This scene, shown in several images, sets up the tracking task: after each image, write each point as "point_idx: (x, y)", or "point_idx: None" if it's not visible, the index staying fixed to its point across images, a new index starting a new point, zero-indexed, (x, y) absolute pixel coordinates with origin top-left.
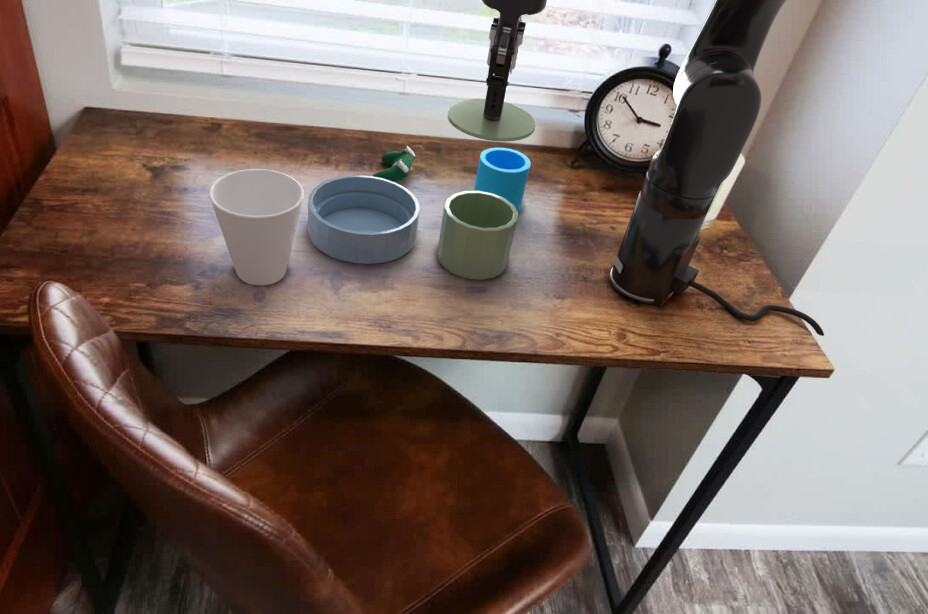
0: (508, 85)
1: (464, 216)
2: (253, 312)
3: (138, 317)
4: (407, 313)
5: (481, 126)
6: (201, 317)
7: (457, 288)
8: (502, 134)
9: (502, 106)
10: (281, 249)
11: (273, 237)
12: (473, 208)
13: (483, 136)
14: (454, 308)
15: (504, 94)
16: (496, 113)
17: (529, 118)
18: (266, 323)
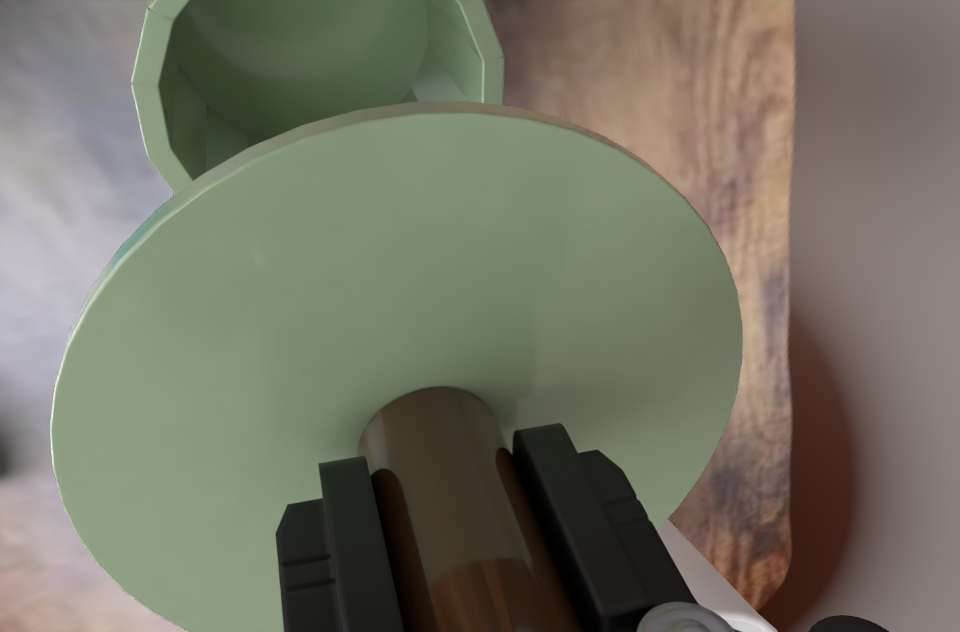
0: (702, 624)
1: (204, 142)
2: (719, 453)
3: (757, 581)
4: (669, 157)
5: (607, 453)
6: (746, 513)
7: (511, 39)
8: (691, 317)
9: (582, 474)
10: (667, 529)
11: (716, 571)
12: (181, 126)
13: (727, 404)
14: (620, 26)
15: (631, 559)
16: (599, 459)
17: (291, 192)
18: (750, 419)
